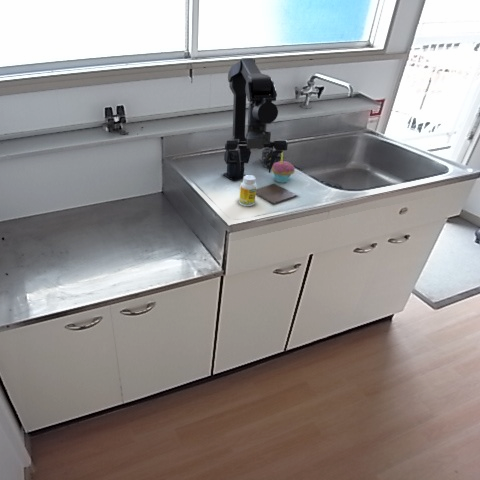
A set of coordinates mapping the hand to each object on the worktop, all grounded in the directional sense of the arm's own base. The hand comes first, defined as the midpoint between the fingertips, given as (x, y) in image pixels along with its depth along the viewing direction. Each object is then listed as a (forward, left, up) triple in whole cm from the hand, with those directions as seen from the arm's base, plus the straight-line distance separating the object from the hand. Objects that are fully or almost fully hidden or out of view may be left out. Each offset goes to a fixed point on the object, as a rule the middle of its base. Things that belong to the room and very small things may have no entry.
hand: (254, 172), depth 125 cm
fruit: (-24, +33, -13) cm, 43 cm away
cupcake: (-11, +25, -13) cm, 30 cm away
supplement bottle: (-3, +2, -13) cm, 14 cm away
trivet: (-3, +14, -13) cm, 20 cm away
